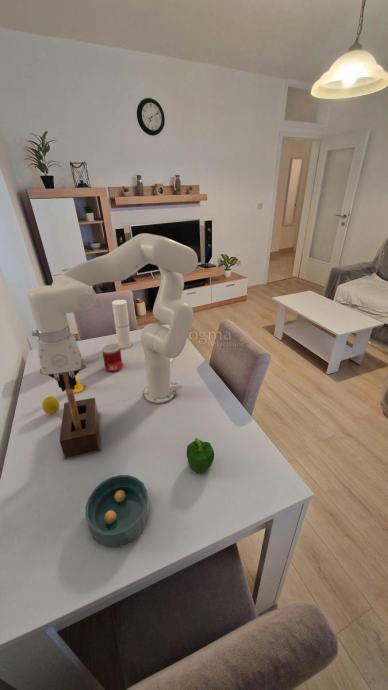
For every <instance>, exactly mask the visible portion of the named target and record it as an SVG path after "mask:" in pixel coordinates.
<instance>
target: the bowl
mask: <svg viewBox="0 0 388 690" xmlns="http://www.w3.org/2000/svg"><path fill="white" fill-rule="evenodd" d="M118 490H123V491H124V492H125V494H126V497H125V499H124V500H123V501H122V502H116V501H115V499H114V495H115V493H116V492H117V491H118ZM148 494H149V493H148V490H147V488H146V486H145V485H144V482H143V481H141V480H140V479H138V477H135V476H132V475H129V474H119V475H115V476H111V477H109V478H107V479H105V480H103V481H101V483H99V484H98V485H97V486H96V487H95V488H94V489H93V490H92V491H91V494H90V495H89V496H88V499H87V502H86V504H85V519H86V522H87V526H88V529H89V531H90V534H91V536H92V538H93V539H94V540H95V541H96V542H97V544H99V545H102V546H104V547H106V548H118V547H122V546H124V545H128V544H129V543H130V542H132V541H133V540H135V539H137V537H139V535H140V534H141V533H142V532H143V530H144V529H145V527H146V525H147V522H148V520H149V516H150V502H149V495H148ZM110 510H112V511H114V512H115V513H116V520H115V521H114V522H113V523H112V524H107V523H106V522H105V521H104V516H105V514H106V512H108V511H110Z"/></svg>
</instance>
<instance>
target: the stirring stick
mask: <svg viewBox="0 0 388 690" xmlns="http://www.w3.org/2000/svg"><path fill="white" fill-rule="evenodd" d="M61 374H62V378H63V382H64V386H65V394H66V398H67V403H68V402H69V406H70V410H71V414H72V418H73V422H74V426H75V430H81V429H82V426H81V422H80V417H79V413H78V409H77V405H76V401H77V400H76V397H75V393H74V392H73V390H72V389H71V385H70V381H69V377H70V373H69V372H63V373H61Z"/></svg>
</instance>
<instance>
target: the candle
mask: <svg viewBox="0 0 388 690" xmlns="http://www.w3.org/2000/svg"><path fill="white" fill-rule="evenodd" d="M75 377H76V382H77V385H75V389H74V390H73V392H74V394H76V393H81V392H82V391H83V390H84V388H85V387H84V385H83V384H81V383H80V382H79V380H80V379H81V377H80V376H78V375H76V376H75Z"/></svg>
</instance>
